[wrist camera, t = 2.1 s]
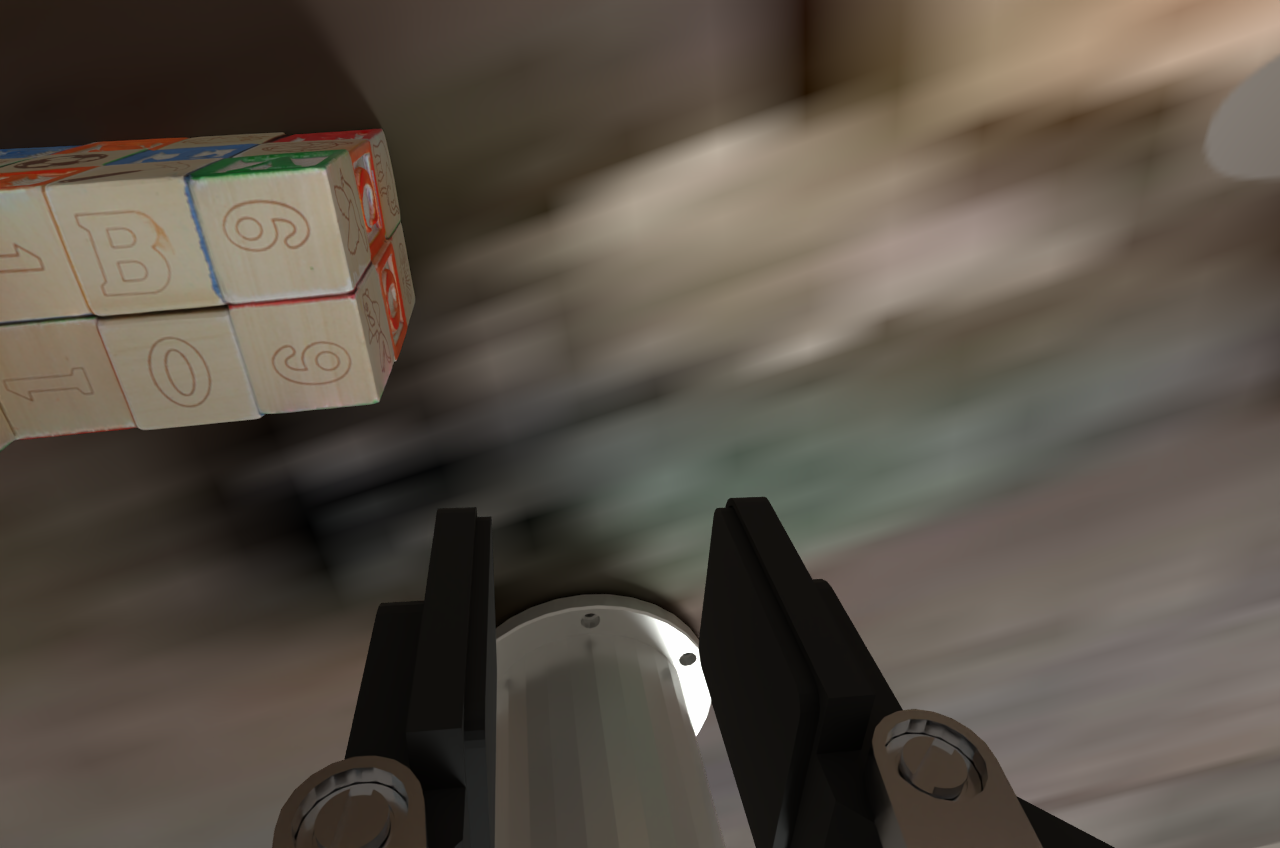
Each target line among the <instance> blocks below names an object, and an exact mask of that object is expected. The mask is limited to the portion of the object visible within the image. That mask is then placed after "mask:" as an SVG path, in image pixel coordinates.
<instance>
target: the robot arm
mask: <svg viewBox="0 0 1280 848" xmlns="http://www.w3.org/2000/svg"><path fill="white" fill-rule="evenodd" d="M711 702H712V705H713V708H714V711H715V714H716V718H717V721H718V724H719V728H720V731H721V734H722V737H723V741H724V744H725V747H726V751H727V754H728V757H729V760H730V764H731V767H732V770H733V774H734V777H735V780H736V784H737V787H738V790H739V793H740V797H741V800H742V803H743V807H744V810H745V813H746V816H747V820H748V823H749V826H750V830H751V833H752V836H753V839H754V843H755V846H756V848H1114V847H1112V846H1111V845H1109V844H1107V843H1105V842H1103V841H1101V840H1099V839H1097V838H1095V837H1093V836H1091V835H1090V834H1088V833H1086V832H1084V831H1082V830H1080V829H1078V828H1076V827H1074V826H1072V825H1070V824H1069V823H1067V822H1065V821H1063V820H1061V819H1059V818H1057V817H1055V816H1053V815H1051V814H1049V813H1048V812H1046V811H1044V810H1042V809H1040V808H1038V807H1036V806H1034V805H1032V804H1030V803H1028V802H1027V801H1025V800H1023V799H1021V798H1019V797H1017V796H1016V795H1015V793H1014V791H1013V789H1012V787H1011V785H1010V783H1009V782H1008V780H1007V778H1006V776H1005V774H1004V772H1003V770H1002V768H1001V766H1000V764H999V762H998V761H997V759H996V757H995V756H994V754H993V753H992V752H991V750H990V749H989V747H988V746H987V744H986V743H985V742H984V741H983V740H982V739H980V738H979V737H978V736H977V735H976V734H975V733H974V732H973V731H972V730H970V729H969V728H967V727H966V726H964V725H962V724H961V723H959V722H957V721H955V720H954V719H952V718H949V717H946V716H944V715H941V714H938V713H935V712H932V711H925V710H917V709H911V710H902V708H901V706H900V704H899V703H898V701H897V699H896V697H895V696H894V694H893V692H892V691H891V689H890V687H889V685H888V684H887V682H886V680H885V678H884V677H883V675H882V673H881V672H880V670H879V668H878V666H877V665H876V663H875V661H874V659H873V658H872V656H871V654H870V653H869V651H868V649H867V647H866V646H865V644H864V642H863V641H862V639H861V637H860V635H859V634H858V632H857V630H856V628H855V627H854V625H853V623H852V622H851V620H850V618H849V616H848V615H847V613H846V611H845V609H844V608H843V606H842V604H841V603H840V601H839V599H838V597H837V596H836V594H835V592H834V590H833V589H832V587H831V586H830V585H829V584H828V582H827V581H825V580H823V579H813V580H812V578H811V576H810V574H809V573H808V571H807V569H806V567H805V565H804V564H803V562H802V560H801V558H800V556H799V555H798V553H797V551H796V549H795V547H794V546H793V544H792V542H791V540H790V538H789V536H788V535H787V533H786V531H785V529H784V527H783V526H782V524H781V522H780V520H779V518H778V517H777V515H776V513H775V511H774V509H773V507H772V506H771V504H770V502H769V501H768V499H767V498H766V497H747V498H730V499H729V500H728V501H727V503H726V508H717V509H716V510H715V512H714V518H713V526H712V535H711V543H710V552H709V560H708V569H707V577H706V586H705V594H704V602H703V611H702V619H701V628H700V636H699V640H698V638H697V637H696V636H695V634H694V633H693V632H692V630H691V629H690V628H689V627H688V626H687V625H686V624H685V623H683V622H682V621H681V620H680V619H679V618H678V617H676V616H675V615H674V614H672V613H670V612H668V611H666V610H664V609H662V608H661V607H659V606H657V605H655V604H652V603H648V602H645V601H642V600H639V599H636V598H632V597H625V596H618V595H611V594H591V595H578V596H572V597H566V598H560V599H555V600H552V601H549V602H546V603H543V604H540V605H537V606H534V607H531V608H529V609H527V610H525V611H523V612H521V613H519V614H517V615H515V616H513V617H511V618H509V619H508V620H507V621H505V622H504V623H503V624H501V625H500V626H498V627H497V628H496V625H495V597H494V570H493V543H492V519H491V517H477V509H476V507H471V508H443V509H438V510H437V515H436V522H435V529H434V536H433V543H432V550H431V558H430V565H429V572H428V579H427V586H426V593H425V600H424V601H411V602H393V603H381V604H380V606H379V607H378V611H377V614H376V619H375V623H374V628H373V632H372V637H371V641H370V646H369V650H368V655H367V660H366V664H365V669H364V673H363V678H362V682H361V687H360V691H359V696H358V700H357V705H356V710H355V714H354V719H353V723H352V728H351V732H350V737H349V741H348V746H347V750H346V755H345V760H342V761H338V762H335V763H332V764H330V765H328V766H327V767H325V768H323V769H321V770H320V771H318V772H316V773H314V774H312V775H311V776H310V777H309V778H308V779H307V780H305V781H304V782H303V783H302V784H301V785H300V786H299V787H298V788H296V789H295V790H294V791H293V793H292V794H291V796H290V797H289V799H288V800H287V802H286V803H285V804H284V806H283V807H282V809H281V811H280V815H279V818H278V821H277V824H276V827H275V831H274V838H273V845H272V848H726V847H725V844H724V840H723V836H722V832H721V829H720V825H719V821H718V817H717V814H716V810H715V806H714V802H713V799H712V795H711V791H710V787H709V784H708V780H707V776H706V772H705V769H704V765H703V761H702V757H701V754H700V750H699V746H698V742H697V739H696V735H697V734H698V733H699V731H700V730H701V728H702V726H703V724H704V722H705V720H706V718H707V716H708V714H709V710H710V706H711Z"/></svg>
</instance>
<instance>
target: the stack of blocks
mask: <svg viewBox="0 0 1280 848" xmlns="http://www.w3.org/2000/svg"><path fill="white" fill-rule="evenodd" d="M414 304H415V294H414V289H413V284H412V278H411V273H410V267H409V262H408V256H407V251H406V245H405V240H404V234H403V229H402V224H401V218H400V209H399V203H398V197H397V191H396V186H395V180H394V175H393V170H392V165H391V160H390V155H389V151H388V146H387V142H386V138H385V134H384V132H383V130H382V129H368V130H355V131H340V132H325V133H310V134H295V135H291V136H287V135H286V134H285V133H283V132H278V133H258V134H240V135H223V136H205V137H195V138H161V139H143V140H124V141H102V142H94V143H91V144H87V145H77V146H57V147H40V148H17V149H0V452H1V451H2V450H3V449H4V448H6V447H7V446H8V445H9V444H10V443H12V442H13V441H14V440H24V439H35V438H44V437H54V436H64V435H73V434H83V433H93V432H103V431H114V430H123V429H131V428H136V427H137V428H139V429H142V430H153V429H163V428H173V427H183V426H193V425H203V424H213V423H223V422H232V421H242V420H252V419H259V418H261V417H262V416H264V414H277V413H289V412H300V411H308V410H318V409H332V408H338V407H350V406H359V405H369V404H376V403H378V402H379V401H380V399H381V396H382V393H383V391H384V388H385V385H386V383H387V380H388V378H389V375H390V372H391V370H392V366H393V364H394V362H395V361H397V359H398V356H399V354H400V351H401V348H402V345H403V342H404V339H405V335H406V332H407V326H408V325H409V320H410V317H411V314H412V311H413V307H414Z"/></svg>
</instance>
